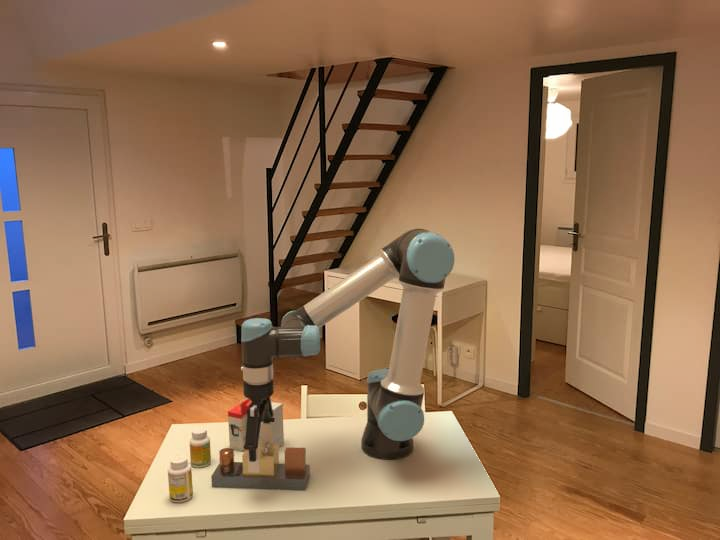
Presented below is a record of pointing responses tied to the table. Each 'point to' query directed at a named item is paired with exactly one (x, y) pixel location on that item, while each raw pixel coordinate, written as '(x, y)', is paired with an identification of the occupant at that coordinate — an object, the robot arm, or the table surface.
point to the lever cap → (264, 461)
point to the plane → (285, 478)
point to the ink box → (238, 425)
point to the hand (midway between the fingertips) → (260, 458)
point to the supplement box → (276, 425)
